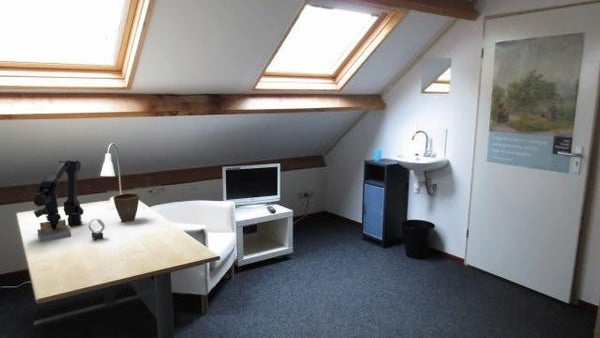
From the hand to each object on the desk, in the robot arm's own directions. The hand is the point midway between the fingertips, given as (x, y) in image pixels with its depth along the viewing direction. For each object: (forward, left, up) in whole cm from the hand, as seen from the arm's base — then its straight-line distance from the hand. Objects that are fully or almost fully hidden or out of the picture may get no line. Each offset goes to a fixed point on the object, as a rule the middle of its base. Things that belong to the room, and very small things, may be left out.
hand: (53, 229), depth 228 cm
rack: (0, 0, -4) cm, 4 cm away
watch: (-25, +11, -4) cm, 28 cm away
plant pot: (-35, -22, -4) cm, 41 cm away
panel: (0, 0, -2) cm, 2 cm away
